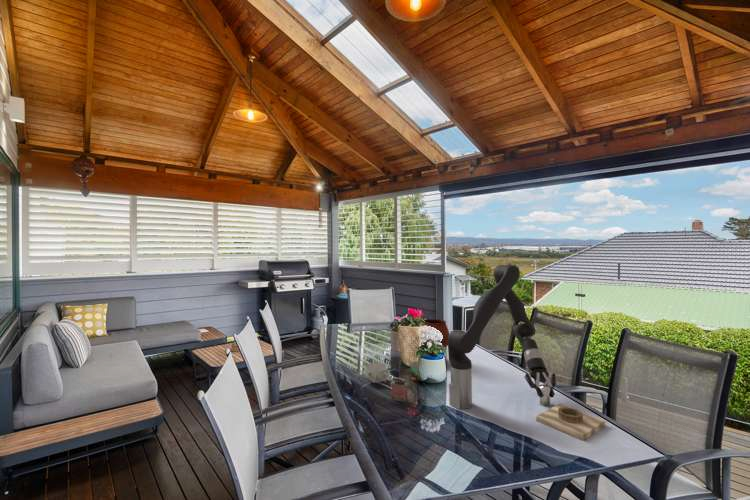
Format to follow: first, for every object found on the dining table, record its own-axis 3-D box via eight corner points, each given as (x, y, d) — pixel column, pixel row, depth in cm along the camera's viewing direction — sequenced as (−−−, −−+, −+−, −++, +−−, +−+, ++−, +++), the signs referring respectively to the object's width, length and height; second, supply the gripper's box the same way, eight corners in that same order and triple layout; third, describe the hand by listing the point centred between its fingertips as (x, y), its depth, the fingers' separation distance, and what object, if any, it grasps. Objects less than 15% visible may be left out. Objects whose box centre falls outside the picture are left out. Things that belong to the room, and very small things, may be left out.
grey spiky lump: (360, 380, 188) (360, 365, 188) (379, 374, 195) (378, 360, 195) (377, 389, 176) (376, 373, 176) (396, 383, 183) (396, 368, 183)
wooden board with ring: (583, 440, 127) (583, 428, 127) (536, 420, 142) (536, 409, 142) (605, 425, 138) (605, 414, 137) (559, 408, 152) (559, 398, 152)
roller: (547, 407, 154) (546, 389, 154) (537, 403, 157) (537, 385, 157) (552, 404, 156) (552, 386, 156) (542, 400, 160) (542, 383, 160)
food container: (415, 384, 181) (415, 365, 181) (408, 380, 187) (408, 361, 187) (434, 379, 187) (434, 361, 187) (427, 375, 193) (427, 357, 192)
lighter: (408, 399, 164) (408, 377, 164) (406, 402, 161) (406, 380, 161) (392, 396, 168) (392, 375, 167) (390, 399, 164) (389, 378, 164)
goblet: (454, 358, 220) (454, 319, 220) (443, 368, 204) (442, 325, 204) (426, 354, 230) (426, 316, 230) (413, 362, 214) (413, 322, 214)
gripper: (521, 357, 164) (533, 393, 152) (552, 356, 164) (566, 393, 152) (517, 364, 169) (528, 400, 157) (546, 364, 169) (560, 400, 157)
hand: (546, 396), depth 155 cm, fingers closed on roller, 4 cm apart
